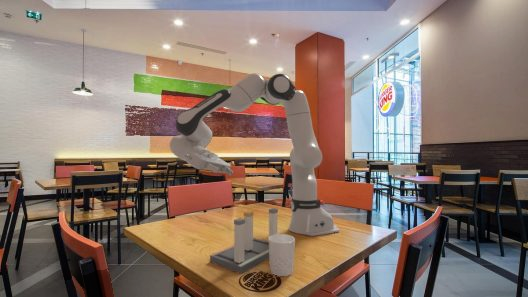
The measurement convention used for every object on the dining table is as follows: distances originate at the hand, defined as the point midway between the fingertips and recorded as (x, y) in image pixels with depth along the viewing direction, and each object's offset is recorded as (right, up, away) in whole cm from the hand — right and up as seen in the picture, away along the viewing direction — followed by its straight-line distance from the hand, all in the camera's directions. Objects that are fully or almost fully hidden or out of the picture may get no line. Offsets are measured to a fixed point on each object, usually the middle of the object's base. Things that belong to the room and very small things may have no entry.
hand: (225, 172), depth 99 cm
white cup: (+20, -28, -21) cm, 41 cm away
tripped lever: (+10, -25, -10) cm, 29 cm away
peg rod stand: (+10, -28, -10) cm, 31 cm away
